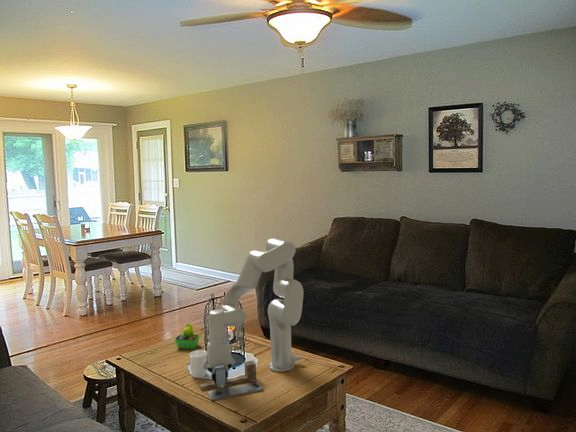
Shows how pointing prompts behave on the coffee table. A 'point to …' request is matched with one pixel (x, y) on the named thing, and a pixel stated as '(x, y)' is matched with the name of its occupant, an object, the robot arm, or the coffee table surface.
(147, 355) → the coffee table surface
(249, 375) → the beam
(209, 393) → the bolt plate
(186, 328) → the fruit basket
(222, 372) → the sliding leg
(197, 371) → the white cup
